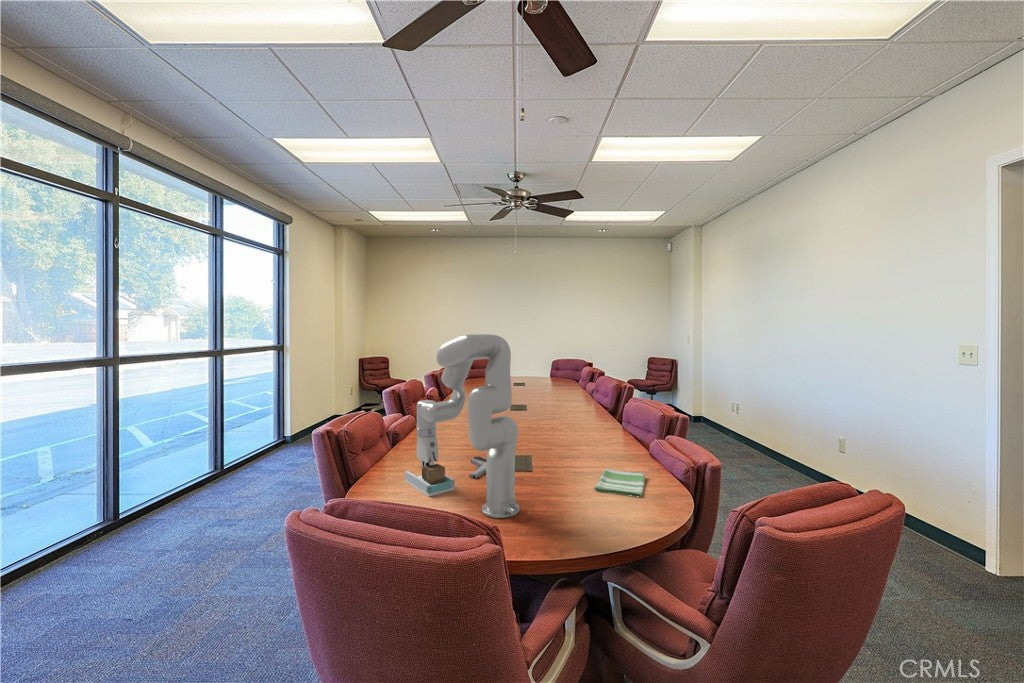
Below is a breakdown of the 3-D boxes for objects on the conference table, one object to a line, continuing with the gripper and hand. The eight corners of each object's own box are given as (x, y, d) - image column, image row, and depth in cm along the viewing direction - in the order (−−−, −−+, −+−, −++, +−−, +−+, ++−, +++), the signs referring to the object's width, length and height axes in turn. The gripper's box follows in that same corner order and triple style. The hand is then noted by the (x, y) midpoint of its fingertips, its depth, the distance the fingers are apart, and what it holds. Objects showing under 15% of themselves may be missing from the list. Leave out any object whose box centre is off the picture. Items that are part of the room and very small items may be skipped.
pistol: (476, 454, 205) (502, 458, 199) (476, 460, 205) (503, 464, 199) (448, 469, 184) (477, 474, 178) (448, 476, 184) (477, 481, 178)
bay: (454, 489, 166) (454, 479, 166) (428, 496, 159) (428, 485, 159) (430, 475, 182) (430, 466, 182) (405, 481, 175) (405, 471, 175)
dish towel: (592, 492, 165) (592, 485, 165) (603, 473, 187) (603, 467, 187) (641, 499, 159) (641, 491, 159) (646, 479, 181) (646, 472, 181)
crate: (445, 486, 167) (445, 467, 167) (430, 489, 163) (430, 470, 163) (437, 481, 172) (437, 463, 171) (423, 485, 168) (423, 466, 168)
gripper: (444, 434, 168) (444, 481, 169) (426, 427, 180) (426, 471, 180) (426, 437, 164) (426, 485, 164) (409, 429, 175) (409, 475, 176)
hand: (426, 478), depth 172 cm, fingers closed
